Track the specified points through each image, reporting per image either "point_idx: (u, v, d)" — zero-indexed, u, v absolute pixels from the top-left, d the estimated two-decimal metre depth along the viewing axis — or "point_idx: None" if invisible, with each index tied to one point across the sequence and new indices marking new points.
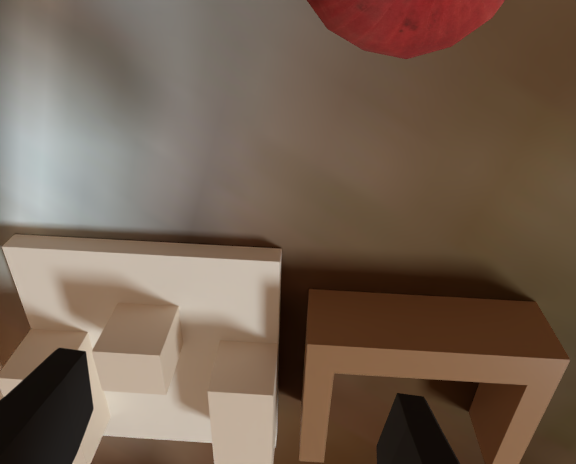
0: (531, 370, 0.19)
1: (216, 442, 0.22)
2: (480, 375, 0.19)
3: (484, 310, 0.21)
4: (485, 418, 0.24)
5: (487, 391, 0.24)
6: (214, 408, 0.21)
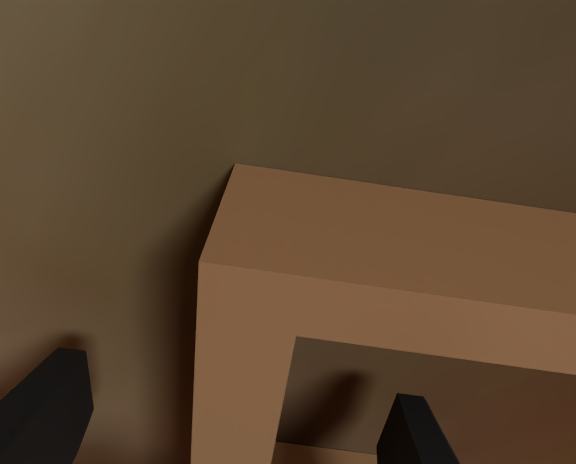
0: (240, 332, 0.08)
1: None
2: (258, 412, 0.09)
3: None
4: None
5: None
6: None
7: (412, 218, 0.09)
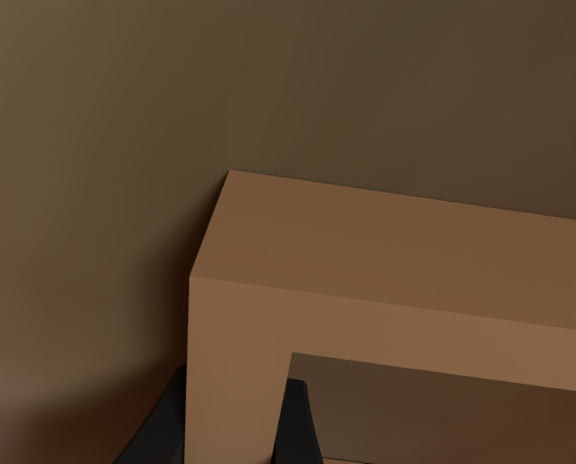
0: (233, 348, 0.07)
1: None
2: (253, 429, 0.08)
3: None
4: None
5: None
6: None
7: (412, 226, 0.09)
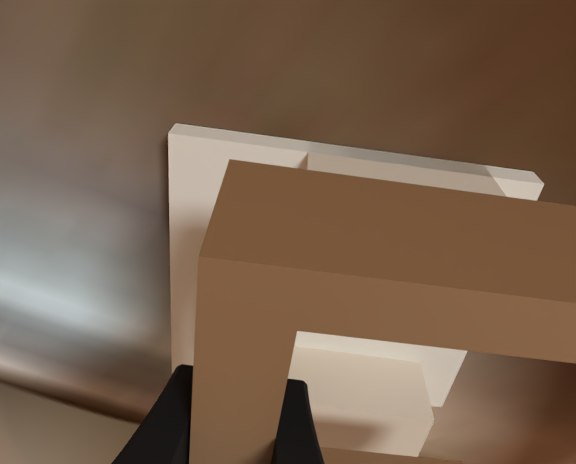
0: (240, 328, 0.07)
1: None
2: (258, 410, 0.08)
3: None
4: None
5: None
6: None
7: (408, 211, 0.09)
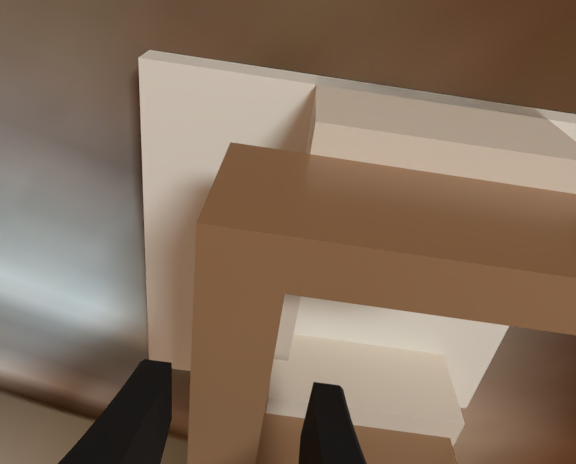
0: (233, 290, 0.08)
1: None
2: (250, 369, 0.09)
3: None
4: None
5: None
6: None
7: (393, 191, 0.10)
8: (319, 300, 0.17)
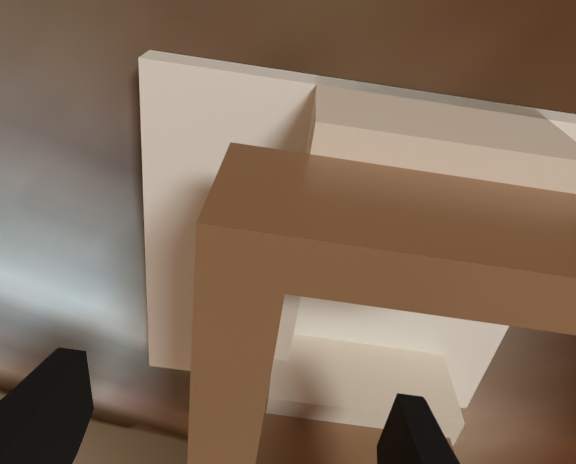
0: (233, 290, 0.08)
1: None
2: (250, 369, 0.09)
3: None
4: None
5: None
6: None
7: (393, 191, 0.10)
8: (319, 300, 0.17)
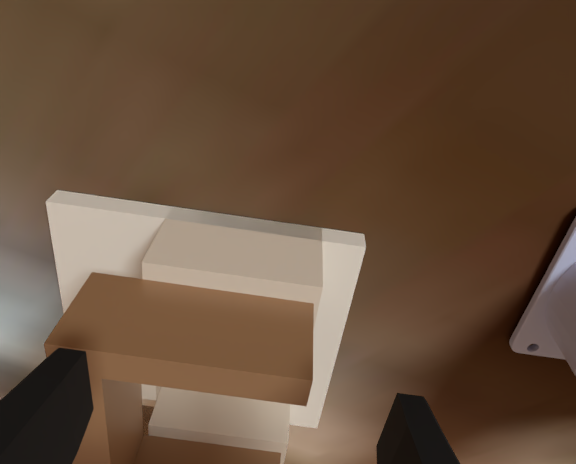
0: None
1: None
2: (93, 417, 0.16)
3: None
4: None
5: None
6: None
7: (181, 309, 0.16)
8: None
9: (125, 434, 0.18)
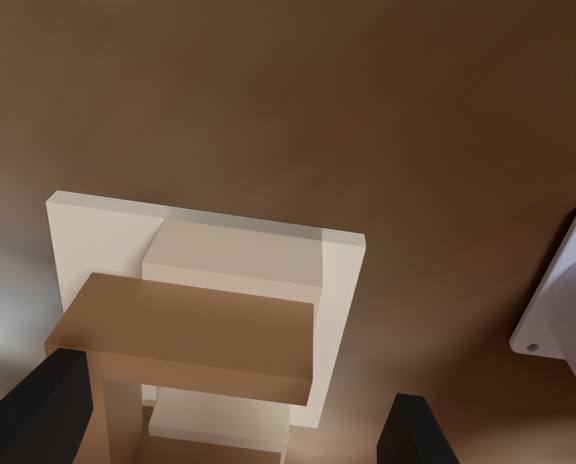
0: None
1: None
2: (93, 418, 0.16)
3: None
4: None
5: None
6: None
7: (181, 309, 0.16)
8: None
9: (125, 434, 0.19)
